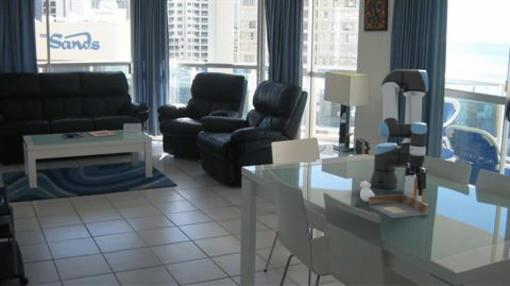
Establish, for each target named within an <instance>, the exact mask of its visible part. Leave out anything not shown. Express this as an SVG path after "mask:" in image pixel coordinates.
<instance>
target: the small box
mask: <svg viewBox="0 0 510 286" xmlns="http://www.w3.org/2000/svg"><path fill="white" fill-rule="evenodd" d="M404 177H405V182H404V188H403V189H404V190H403V194H404V195H406V196H409V197H411V198H414V199H416V192H417V188H418V185H417V182H418V178H416V175H408V176H405V175H404ZM421 202H423V203H425V189H423V192H422V199H421Z"/></svg>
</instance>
